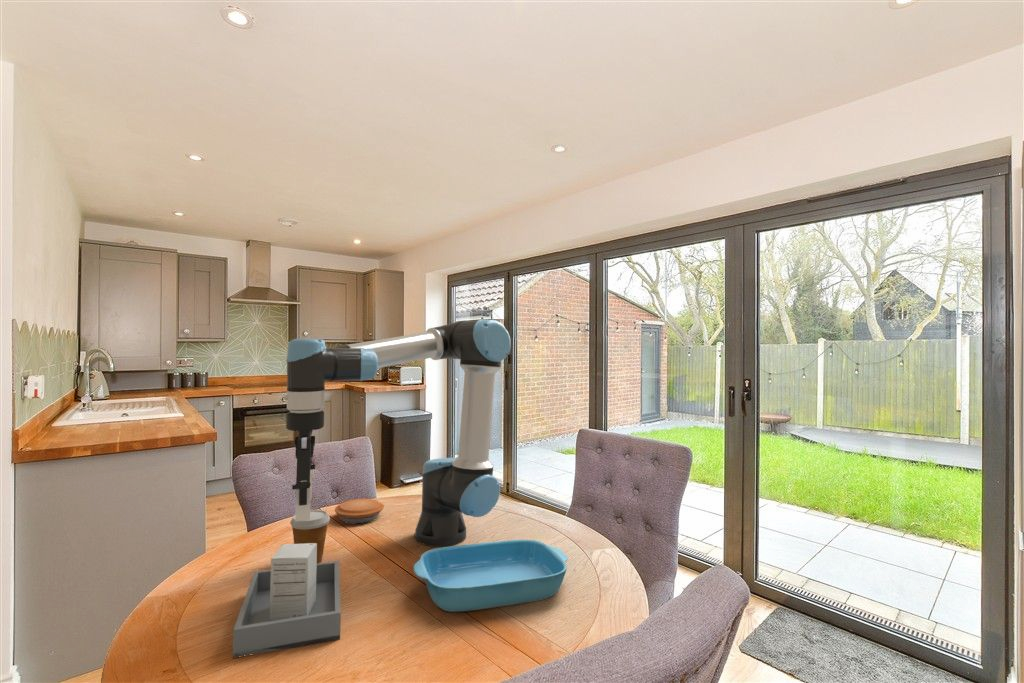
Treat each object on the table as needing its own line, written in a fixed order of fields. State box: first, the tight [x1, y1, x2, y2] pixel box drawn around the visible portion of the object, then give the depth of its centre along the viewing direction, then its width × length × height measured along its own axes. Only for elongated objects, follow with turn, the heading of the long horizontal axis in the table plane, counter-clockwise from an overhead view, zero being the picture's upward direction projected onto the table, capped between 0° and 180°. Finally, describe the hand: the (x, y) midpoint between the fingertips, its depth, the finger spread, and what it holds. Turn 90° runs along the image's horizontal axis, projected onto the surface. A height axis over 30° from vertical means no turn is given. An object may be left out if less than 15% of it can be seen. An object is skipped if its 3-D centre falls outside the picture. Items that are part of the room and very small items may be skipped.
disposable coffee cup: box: [290, 509, 331, 563], centre depth 125 cm, size 10×10×12 cm
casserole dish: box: [412, 538, 568, 613], centre depth 112 cm, size 37×22×7 cm, turn 110°
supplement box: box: [269, 543, 317, 621], centre depth 100 cm, size 7×7×13 cm
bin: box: [232, 560, 342, 659], centre depth 100 cm, size 18×24×5 cm
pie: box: [334, 498, 385, 524], centre depth 158 cm, size 15×16×5 cm
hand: (304, 509), depth 103 cm, fingers open, 13 cm apart
